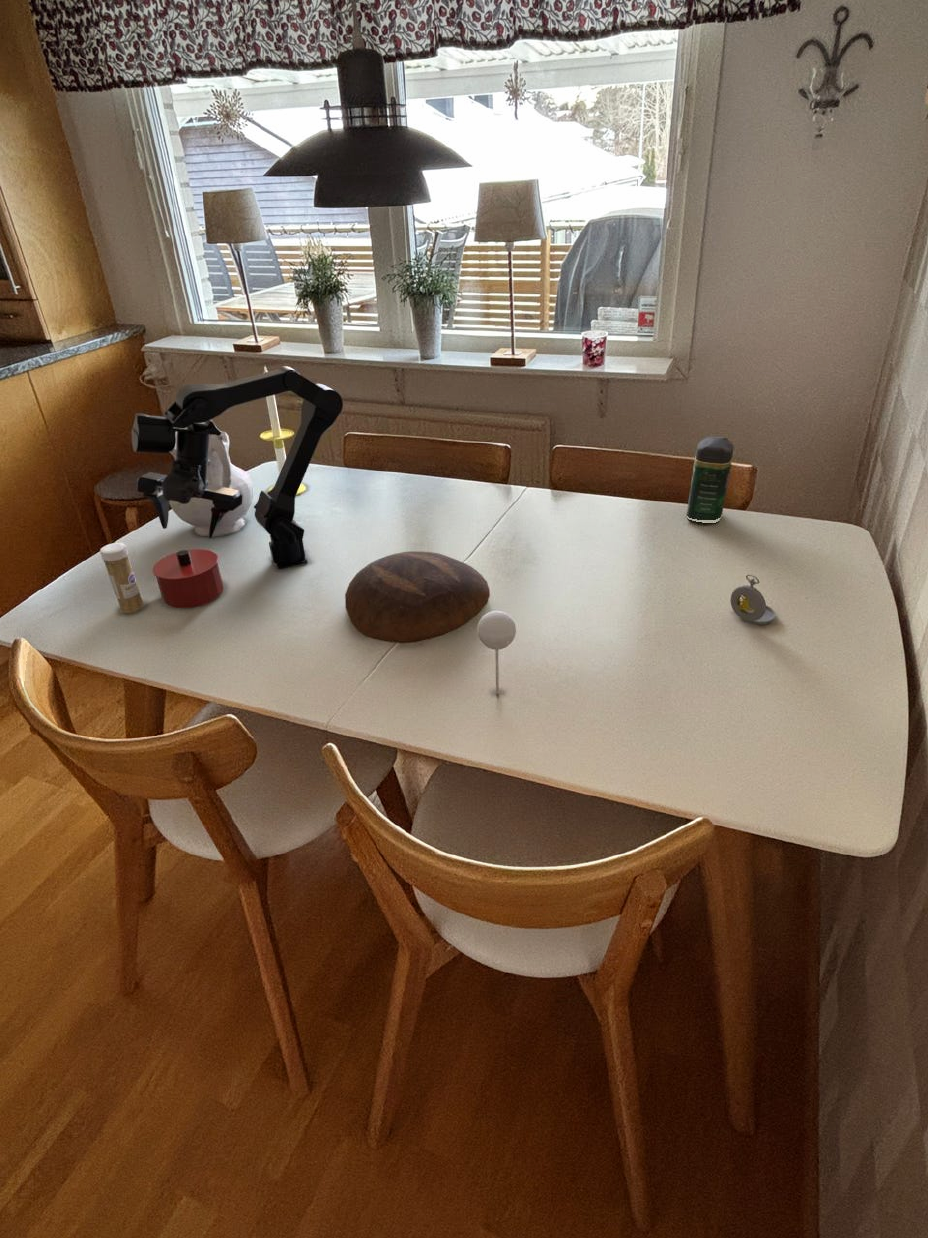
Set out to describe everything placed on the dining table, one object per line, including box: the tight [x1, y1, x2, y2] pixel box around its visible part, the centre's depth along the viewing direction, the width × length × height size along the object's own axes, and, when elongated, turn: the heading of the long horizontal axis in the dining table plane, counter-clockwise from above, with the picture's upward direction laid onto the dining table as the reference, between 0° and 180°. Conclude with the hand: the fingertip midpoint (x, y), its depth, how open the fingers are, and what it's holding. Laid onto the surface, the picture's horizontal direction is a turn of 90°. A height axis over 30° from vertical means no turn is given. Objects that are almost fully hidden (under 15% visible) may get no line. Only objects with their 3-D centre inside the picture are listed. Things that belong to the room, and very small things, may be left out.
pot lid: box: [151, 548, 220, 581], centre depth 143 cm, size 13×13×4 cm
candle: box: [259, 366, 307, 497], centre depth 183 cm, size 10×10×32 cm
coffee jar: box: [686, 435, 734, 526], centre depth 163 cm, size 10×8×19 cm
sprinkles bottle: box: [99, 542, 145, 614], centre depth 139 cm, size 5×5×13 cm
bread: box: [344, 550, 491, 644], centre depth 137 cm, size 28×27×9 cm
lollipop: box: [476, 610, 517, 695], centre depth 112 cm, size 6×6×15 cm
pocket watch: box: [729, 574, 777, 625], centre depth 129 cm, size 8×8×10 cm
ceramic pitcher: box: [169, 422, 254, 537], centre depth 167 cm, size 22×20×25 cm
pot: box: [155, 563, 224, 609], centre depth 145 cm, size 12×12×6 cm
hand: (188, 533), depth 143 cm, fingers open, 9 cm apart
